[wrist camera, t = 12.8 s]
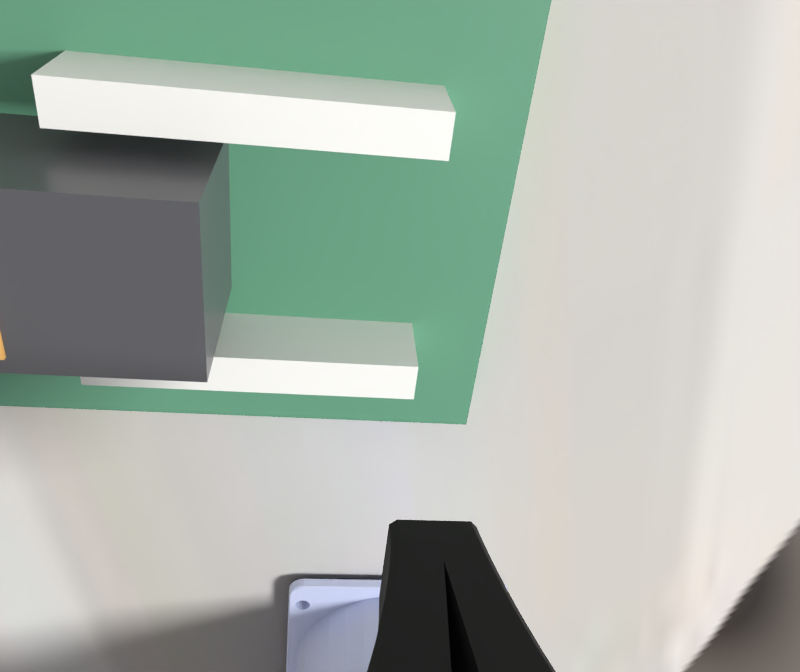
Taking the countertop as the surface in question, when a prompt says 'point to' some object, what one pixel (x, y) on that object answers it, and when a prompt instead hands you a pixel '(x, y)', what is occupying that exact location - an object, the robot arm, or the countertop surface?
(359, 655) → the robot arm
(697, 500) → the countertop surface
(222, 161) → the plug
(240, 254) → the board
